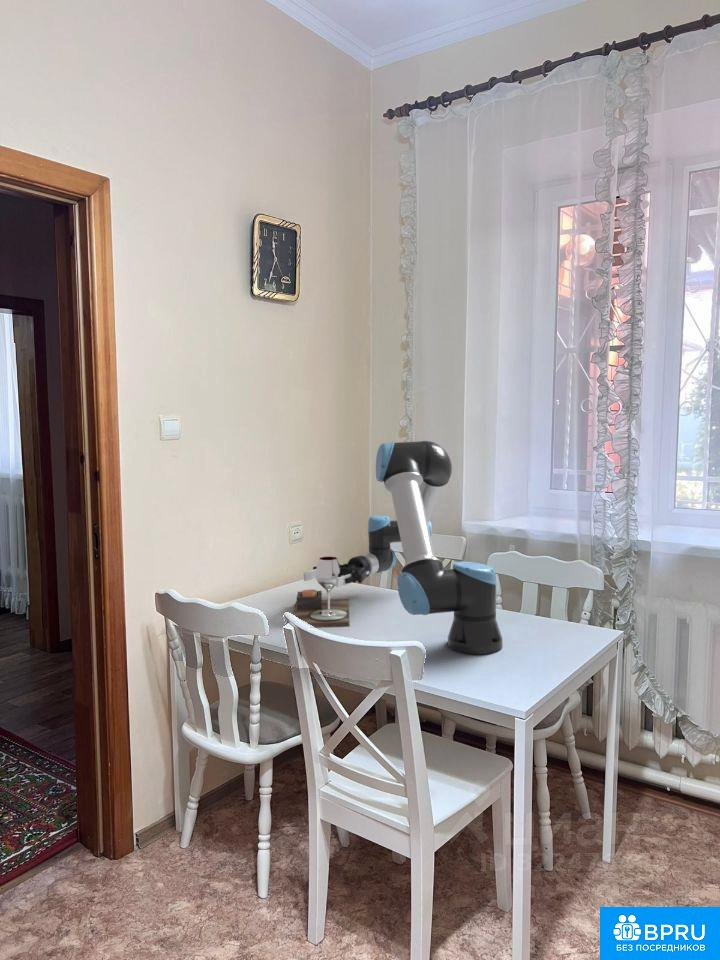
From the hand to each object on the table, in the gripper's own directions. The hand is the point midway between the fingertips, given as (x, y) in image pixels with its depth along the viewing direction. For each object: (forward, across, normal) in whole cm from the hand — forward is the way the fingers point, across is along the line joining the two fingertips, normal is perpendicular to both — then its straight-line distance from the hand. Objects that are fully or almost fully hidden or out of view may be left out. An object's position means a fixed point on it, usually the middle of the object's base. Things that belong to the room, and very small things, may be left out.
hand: (320, 579), depth 225 cm
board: (-6, +5, -14) cm, 15 cm away
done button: (-8, +12, -10) cm, 18 cm away
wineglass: (-4, 0, -12) cm, 13 cm away
